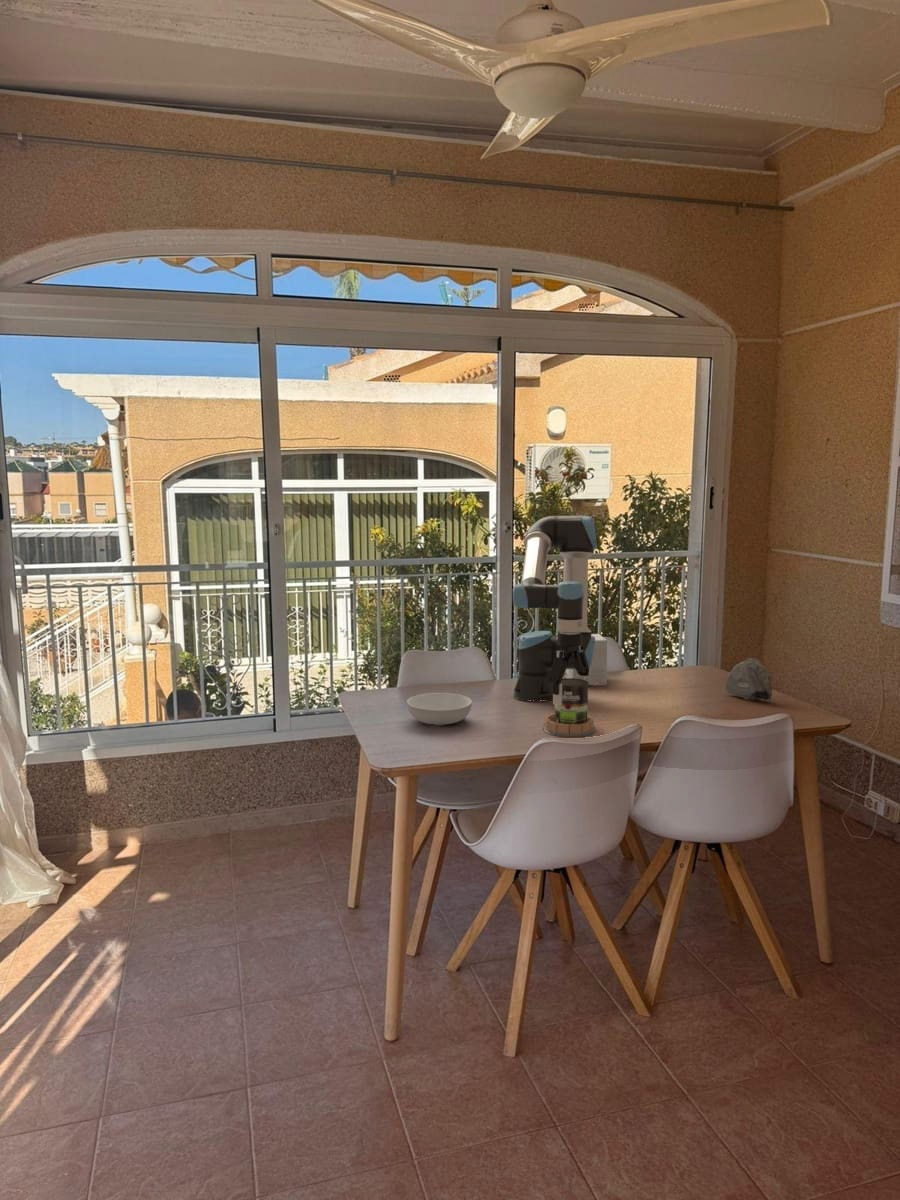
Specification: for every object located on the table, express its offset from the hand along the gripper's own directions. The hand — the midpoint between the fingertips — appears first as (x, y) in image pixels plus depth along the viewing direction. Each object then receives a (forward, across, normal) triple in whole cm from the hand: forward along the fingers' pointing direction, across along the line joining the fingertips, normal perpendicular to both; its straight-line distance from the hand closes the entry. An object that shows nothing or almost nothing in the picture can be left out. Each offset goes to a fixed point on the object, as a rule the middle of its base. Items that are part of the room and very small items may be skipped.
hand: (569, 700), depth 250 cm
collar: (+9, 0, 0) cm, 9 cm away
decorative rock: (+9, +69, -31) cm, 76 cm away
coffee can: (+8, +1, 0) cm, 9 cm away
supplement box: (+8, +57, +27) cm, 64 cm away
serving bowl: (+10, -17, +38) cm, 43 cm away
